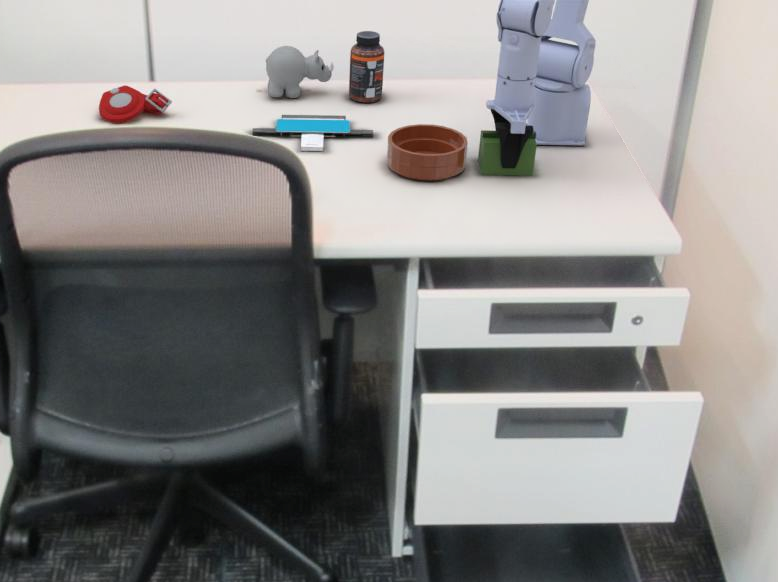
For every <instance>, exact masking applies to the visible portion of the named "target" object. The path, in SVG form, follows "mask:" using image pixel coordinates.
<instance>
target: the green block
mask: <svg viewBox="0 0 778 582" xmlns="http://www.w3.org/2000/svg"><path fill="white" fill-rule="evenodd" d="M535 139H536V132H535V131H533V133H532V135H531V136H530V137H529V139H528V140H527V142H526V143H525V145H524V147H523V150H522V152H521V155H520V158H519V161H518V163H517V166H516V168H515V169H513V168H502V165H501V158H500V140H499V135H498V133H497V131H496V130H488V129H487V130H480V136H479V143H478V144H479V146H478V155H477V164H478V165H477V166H478V168H479V173H480V175H488V176H529V177H530V176H533V174H534V166H535V160H536V152H537V146H538V145H537V143H536V140H535Z"/></svg>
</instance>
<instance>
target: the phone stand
mask: <svg viewBox="0 0 778 582" xmlns="http://www.w3.org/2000/svg"><path fill="white" fill-rule="evenodd" d="M251 131H252V134H251V136H254V135H255V136H257V137H258V136H260V137H261V136H262V137H287V138H288V137H293V138H295V137H297V138H300V139H301V140H300V151H303V152H304V151H305V152H314V151H315V152H324V138H347V139H349V138H353V139H354V138H355V139H358V138H359V139H361V138H362V139H363V138H374V130H373V129H351V120H349V119H347V116H346V115H332V114H331V115H328V114H327V115H323V114H321V115H319V114H318V115H317V114H281V118H277V119H276V125H275V128H273V127H271V128H269V127H268V128H267V127H265V128H264V127H263V128H261V127H257V128H256V127H252V130H251Z"/></svg>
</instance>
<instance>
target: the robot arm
mask: <svg viewBox="0 0 778 582" xmlns="http://www.w3.org/2000/svg"><path fill="white" fill-rule="evenodd" d="M589 2H590V0H500V2H499V5H498V9H497V12H496V26H497V29H498V32H497V40H498V42H499V43H500V47H499V48H500V49H499V58H498V66H497V76H496V83H495V93H494V99H487V100H486V102H485V106H486V108H487V109H488V110H490V112H491V115H492V118H493V122H494V127H495V128H494V129H495V131H497V133H498V135H499V140H500V158H501V165H502V168H513V169H515V168H516V166H517V163H518V161H519V158H520V155H521V152H522V150H523V147H524V145H525V143H526V142H527V140H528V139H529V137H530V136H531V135H532V133H533V131H535V132H536V139H535V140H536V143H537V146H539V145H542V146H543V145H544V146H585V145H586V141H585V140H586V134H587V128H588V121H589V115H590V110H591V101H592V100H591V99H592V95H591V94H592V92H591V87H590V85H589V84H586V83H587V82H588V81H589V78H590V77H591V74H592V71H593V67H594V63H595V61H594V60H595V50H596V46H597V45H596V44H597V42H596V41H597V40H596V38H595V37H594V35H593V34H592V33H591V32H590V30H589V29H588V27H587V26H586V25H585V23H584V20H585V17H586V13H587V10H588V5H589ZM552 38H556V39H560V40H563V41H564V40H565V41H570V42H573V43H575V44H573V43H569V42H568V43H567V42H563V41H557V40H552Z"/></svg>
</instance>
